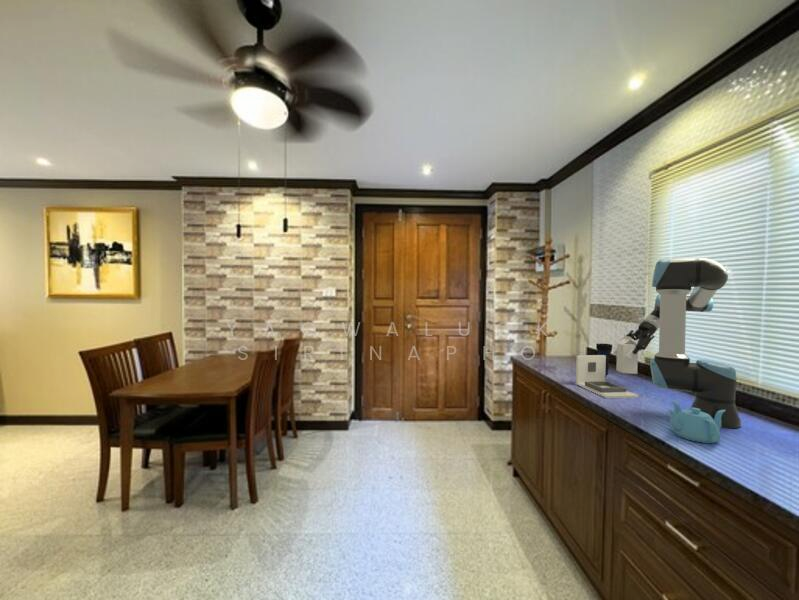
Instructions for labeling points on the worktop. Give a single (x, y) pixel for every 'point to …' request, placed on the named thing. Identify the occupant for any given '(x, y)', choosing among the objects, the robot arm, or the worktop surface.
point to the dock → (598, 377)
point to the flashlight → (605, 353)
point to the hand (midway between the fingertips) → (621, 355)
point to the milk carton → (622, 360)
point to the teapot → (695, 424)
